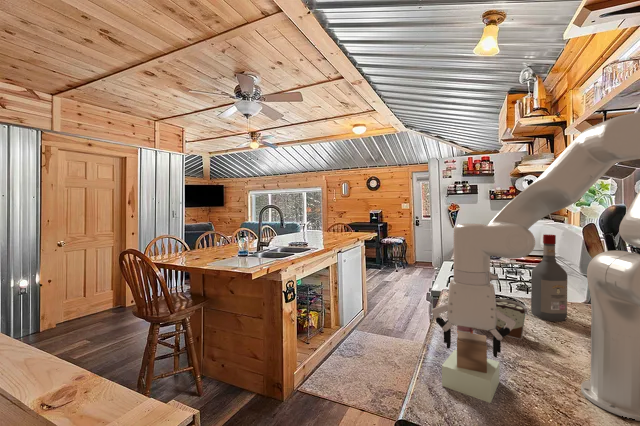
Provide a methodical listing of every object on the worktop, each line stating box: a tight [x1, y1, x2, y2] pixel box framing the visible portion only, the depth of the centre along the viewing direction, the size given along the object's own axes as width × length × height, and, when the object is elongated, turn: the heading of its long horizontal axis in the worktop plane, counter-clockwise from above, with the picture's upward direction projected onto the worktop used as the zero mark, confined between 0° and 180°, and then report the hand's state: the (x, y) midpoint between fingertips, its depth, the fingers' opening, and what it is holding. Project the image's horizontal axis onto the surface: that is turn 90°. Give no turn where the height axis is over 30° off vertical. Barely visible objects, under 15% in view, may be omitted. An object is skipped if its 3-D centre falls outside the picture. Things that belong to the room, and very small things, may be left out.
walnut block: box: [456, 331, 488, 373], centre depth 71 cm, size 6×6×6 cm
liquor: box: [530, 234, 568, 322], centre depth 111 cm, size 9×9×30 cm
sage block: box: [441, 349, 500, 404], centre depth 71 cm, size 10×10×5 cm
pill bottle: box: [456, 325, 474, 335], centre depth 98 cm, size 5×5×8 cm
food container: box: [487, 298, 529, 340], centre depth 99 cm, size 12×6×10 cm, turn 47°
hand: (471, 350), depth 71 cm, fingers open, 9 cm apart
